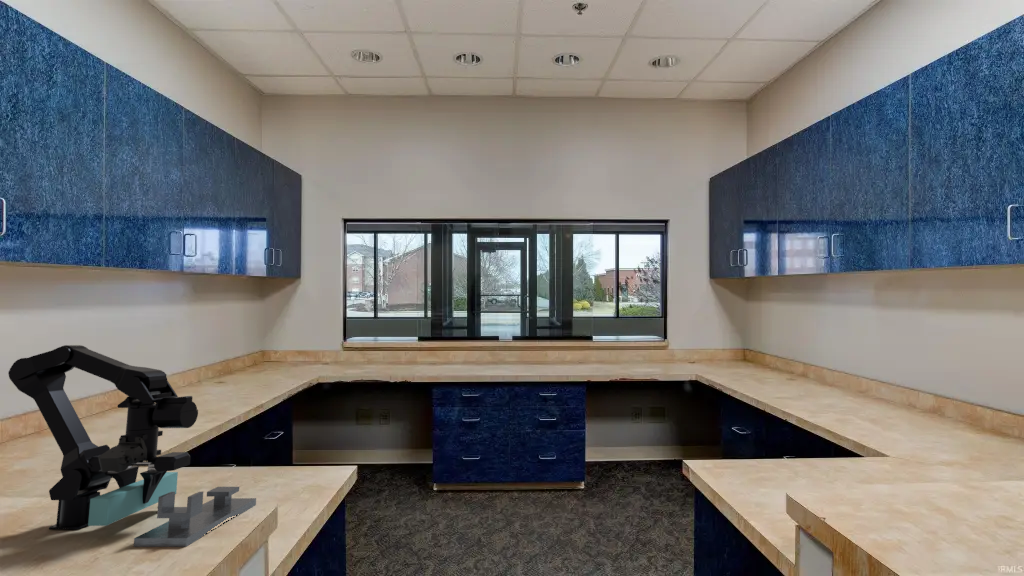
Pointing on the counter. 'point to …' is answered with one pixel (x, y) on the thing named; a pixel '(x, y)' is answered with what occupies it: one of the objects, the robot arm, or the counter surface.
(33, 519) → the counter surface
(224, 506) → the bracket stand
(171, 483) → the teal rail
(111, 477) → the robot arm
